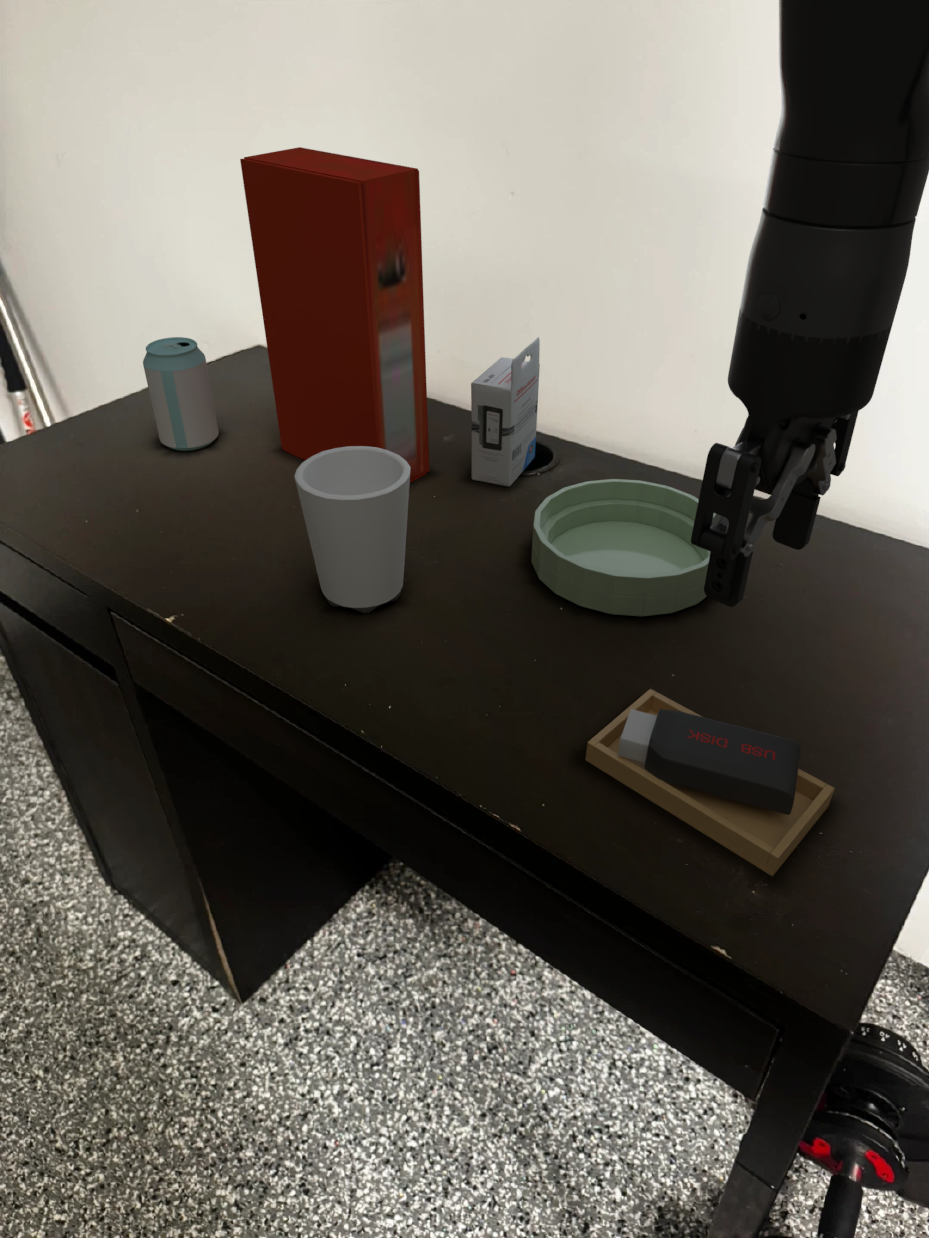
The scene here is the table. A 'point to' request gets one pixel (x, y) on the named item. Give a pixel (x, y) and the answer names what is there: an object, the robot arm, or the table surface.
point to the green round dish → (620, 547)
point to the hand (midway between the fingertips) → (757, 570)
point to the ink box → (505, 417)
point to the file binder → (341, 300)
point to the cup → (356, 523)
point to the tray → (714, 798)
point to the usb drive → (714, 757)
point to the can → (180, 393)
